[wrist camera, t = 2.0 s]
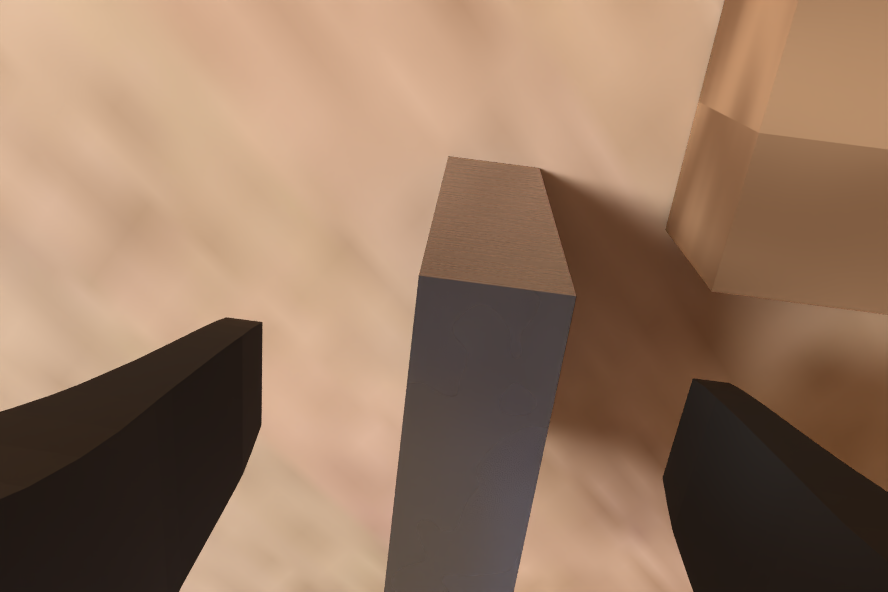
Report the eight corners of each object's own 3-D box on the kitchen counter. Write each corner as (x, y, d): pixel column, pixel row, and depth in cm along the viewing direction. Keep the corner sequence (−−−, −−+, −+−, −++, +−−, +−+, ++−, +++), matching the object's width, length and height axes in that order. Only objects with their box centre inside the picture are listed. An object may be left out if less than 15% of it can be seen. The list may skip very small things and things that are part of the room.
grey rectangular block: (498, 400, 18) (504, 634, 11) (420, 390, 18) (381, 617, 11) (539, 167, 15) (576, 296, 9) (448, 156, 15) (418, 275, 9)
